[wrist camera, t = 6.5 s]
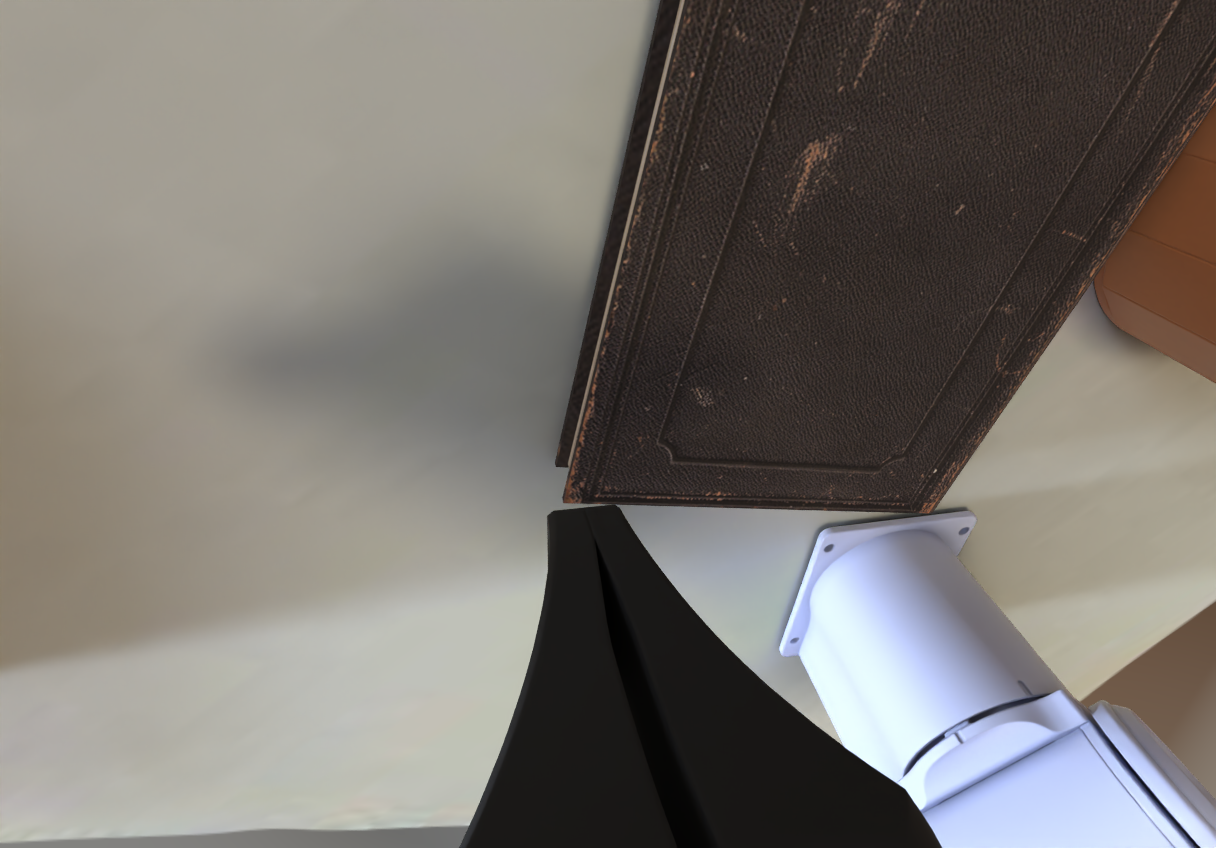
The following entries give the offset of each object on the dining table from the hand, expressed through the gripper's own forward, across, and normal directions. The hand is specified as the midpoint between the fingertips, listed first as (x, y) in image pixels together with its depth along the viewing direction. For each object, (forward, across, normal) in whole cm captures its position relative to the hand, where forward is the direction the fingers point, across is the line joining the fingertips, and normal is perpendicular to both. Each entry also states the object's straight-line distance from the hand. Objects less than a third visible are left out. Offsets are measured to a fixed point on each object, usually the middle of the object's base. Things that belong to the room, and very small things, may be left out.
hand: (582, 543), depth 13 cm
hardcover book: (+10, -10, -4) cm, 15 cm away
